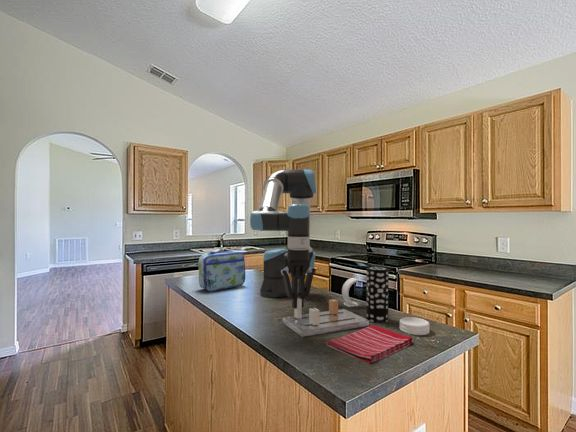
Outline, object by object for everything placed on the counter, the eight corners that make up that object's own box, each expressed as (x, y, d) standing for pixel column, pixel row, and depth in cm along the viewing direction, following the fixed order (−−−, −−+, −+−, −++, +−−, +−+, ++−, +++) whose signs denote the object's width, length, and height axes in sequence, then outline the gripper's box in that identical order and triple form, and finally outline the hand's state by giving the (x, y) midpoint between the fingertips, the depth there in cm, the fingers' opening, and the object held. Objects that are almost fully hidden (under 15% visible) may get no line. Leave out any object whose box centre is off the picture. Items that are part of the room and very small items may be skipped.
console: (282, 322, 120) (282, 316, 120) (344, 313, 132) (344, 308, 132) (301, 336, 106) (301, 330, 106) (369, 325, 117) (369, 320, 117)
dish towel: (415, 345, 101) (415, 336, 101) (370, 366, 86) (370, 357, 86) (370, 330, 114) (370, 323, 114) (324, 346, 99) (324, 338, 99)
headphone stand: (358, 306, 144) (358, 279, 144) (346, 307, 142) (346, 280, 142) (353, 303, 148) (353, 277, 148) (341, 304, 146) (341, 278, 146)
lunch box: (204, 293, 166) (205, 253, 166) (196, 289, 174) (196, 251, 174) (247, 287, 182) (247, 250, 182) (237, 283, 190) (237, 249, 191)
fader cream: (309, 322, 113) (309, 308, 113) (315, 321, 114) (315, 307, 114) (313, 325, 110) (313, 310, 110) (319, 324, 111) (319, 309, 111)
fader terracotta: (328, 312, 126) (328, 299, 126) (334, 311, 127) (334, 298, 127) (332, 314, 123) (333, 301, 123) (338, 313, 124) (338, 300, 124)
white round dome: (393, 329, 114) (393, 319, 114) (409, 324, 120) (409, 315, 120) (419, 338, 106) (419, 327, 106) (435, 332, 112) (435, 322, 112)
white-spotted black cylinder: (373, 314, 131) (373, 266, 131) (392, 319, 125) (392, 268, 125) (362, 319, 125) (362, 268, 125) (381, 324, 119) (381, 270, 119)
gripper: (285, 250, 104) (284, 322, 103) (320, 249, 109) (319, 318, 109) (276, 248, 111) (276, 316, 110) (309, 247, 116) (309, 312, 115)
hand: (297, 317), depth 109 cm, fingers closed
